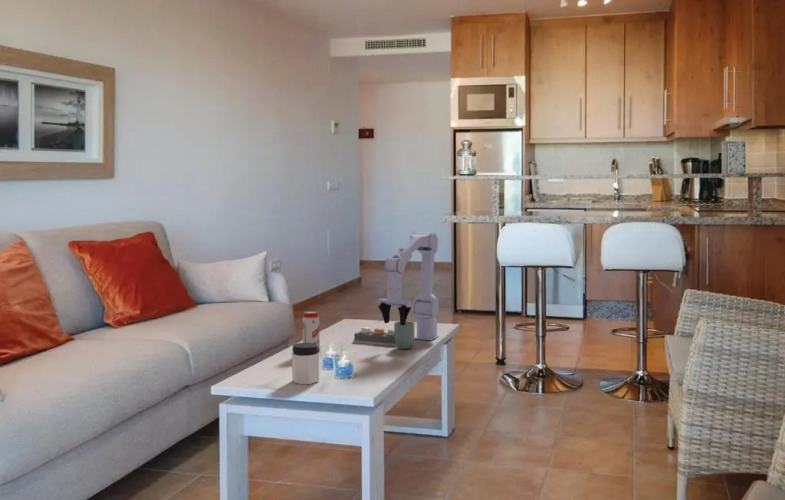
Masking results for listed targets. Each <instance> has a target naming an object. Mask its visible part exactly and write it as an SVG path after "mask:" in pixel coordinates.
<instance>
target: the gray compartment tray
mask: <svg viewBox="0 0 785 500" xmlns="http://www.w3.org/2000/svg"><path fill="white" fill-rule="evenodd" d="M353 335H354V337H353V338H354V339H352V343H358V344H359V343H360V344H369V345H378V346H379V345H380V346H388V345H389V346H391V347H397V346H396V344H395V338H394V336H388V332H384V335H374V330H373V331H372V330H371V334H361V330H360V331H358V332H355V333H354V334H353Z"/></svg>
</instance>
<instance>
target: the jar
mask: <svg viewBox="0 0 785 500" xmlns="http://www.w3.org/2000/svg"><path fill="white" fill-rule="evenodd" d="M291 349H292V350H291V351H292V353H291V365H292V366H291V370H292V371H291V372H292V375H291V378H292V382H293V381H294V382H295V383H299V384H298V385H307V384H309V385H313V384H316V383H315V382H317V383H319V382H320V355H319V354H320V353H318V345H317V344H315V343H303V342H298V343H295V344H293V345H292V348H291ZM294 382H293V383H294ZM295 383H294V384H295ZM312 383H313V384H312Z"/></svg>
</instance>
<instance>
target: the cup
mask: <svg viewBox="0 0 785 500" xmlns="http://www.w3.org/2000/svg"><path fill="white" fill-rule="evenodd" d="M393 327H394V328H393V329H394V338H395V344H396V346H395V347H396V348H397V349H399V350H409V349H411V348H412V347H413V346H414V342H415V339H414V337H415V323H414V322H413V321H408V320H406V323H405V325H400V321H396V322H394V323H393Z"/></svg>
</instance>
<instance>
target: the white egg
mask: <svg viewBox="0 0 785 500" xmlns="http://www.w3.org/2000/svg"><path fill="white" fill-rule="evenodd" d="M360 331H361V334H371V331H372V328H371V327H370V326H362V327H360Z"/></svg>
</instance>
